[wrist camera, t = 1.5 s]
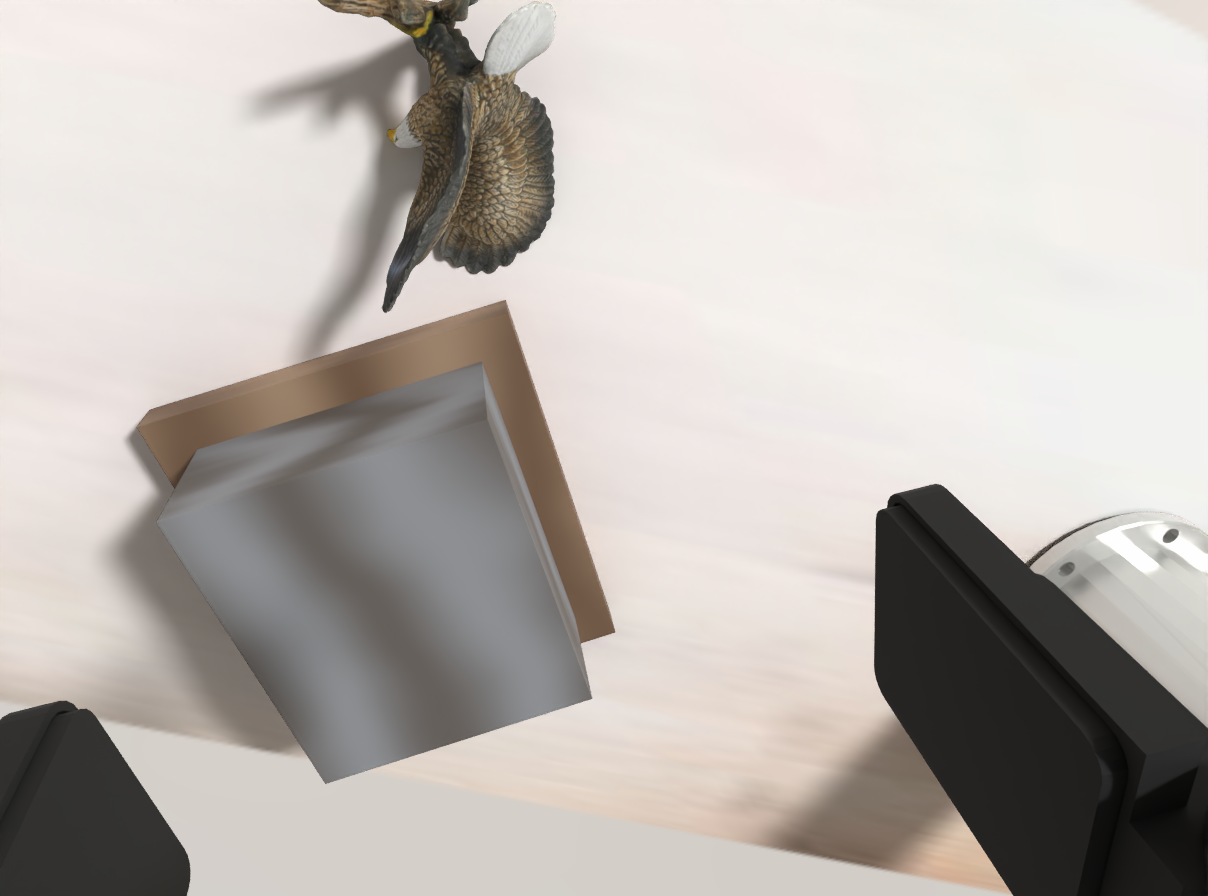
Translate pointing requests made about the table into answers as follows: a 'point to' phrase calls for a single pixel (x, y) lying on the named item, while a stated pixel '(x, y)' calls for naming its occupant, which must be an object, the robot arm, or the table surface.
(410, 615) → the pedestal
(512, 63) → the eagle figurine
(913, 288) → the table surface
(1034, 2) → the table surface
